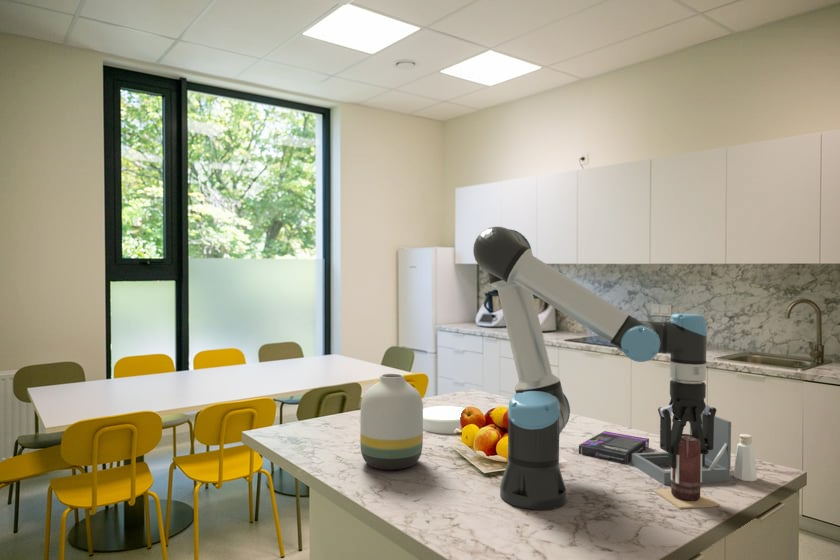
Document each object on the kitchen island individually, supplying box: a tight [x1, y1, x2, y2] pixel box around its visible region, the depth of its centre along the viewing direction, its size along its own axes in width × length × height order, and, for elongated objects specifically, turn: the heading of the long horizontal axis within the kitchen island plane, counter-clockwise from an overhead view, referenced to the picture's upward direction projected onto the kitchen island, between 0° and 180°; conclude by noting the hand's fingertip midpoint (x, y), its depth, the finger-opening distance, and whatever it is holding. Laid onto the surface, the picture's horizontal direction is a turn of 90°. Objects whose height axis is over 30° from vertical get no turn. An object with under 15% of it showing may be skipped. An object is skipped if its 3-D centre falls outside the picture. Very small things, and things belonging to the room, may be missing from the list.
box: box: [578, 430, 650, 465], centre depth 166 cm, size 14×4×20 cm
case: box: [631, 412, 732, 486], centre depth 147 cm, size 18×15×15 cm
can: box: [670, 433, 701, 501], centre depth 130 cm, size 6×6×14 cm
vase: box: [359, 373, 424, 471], centre depth 152 cm, size 17×17×24 cm
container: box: [423, 405, 465, 435], centre depth 192 cm, size 20×20×5 cm
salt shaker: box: [732, 433, 758, 482], centre depth 144 cm, size 5×5×11 cm
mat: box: [653, 488, 721, 510], centre depth 130 cm, size 10×10×1 cm
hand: (686, 480), depth 130 cm, fingers open, 5 cm apart
